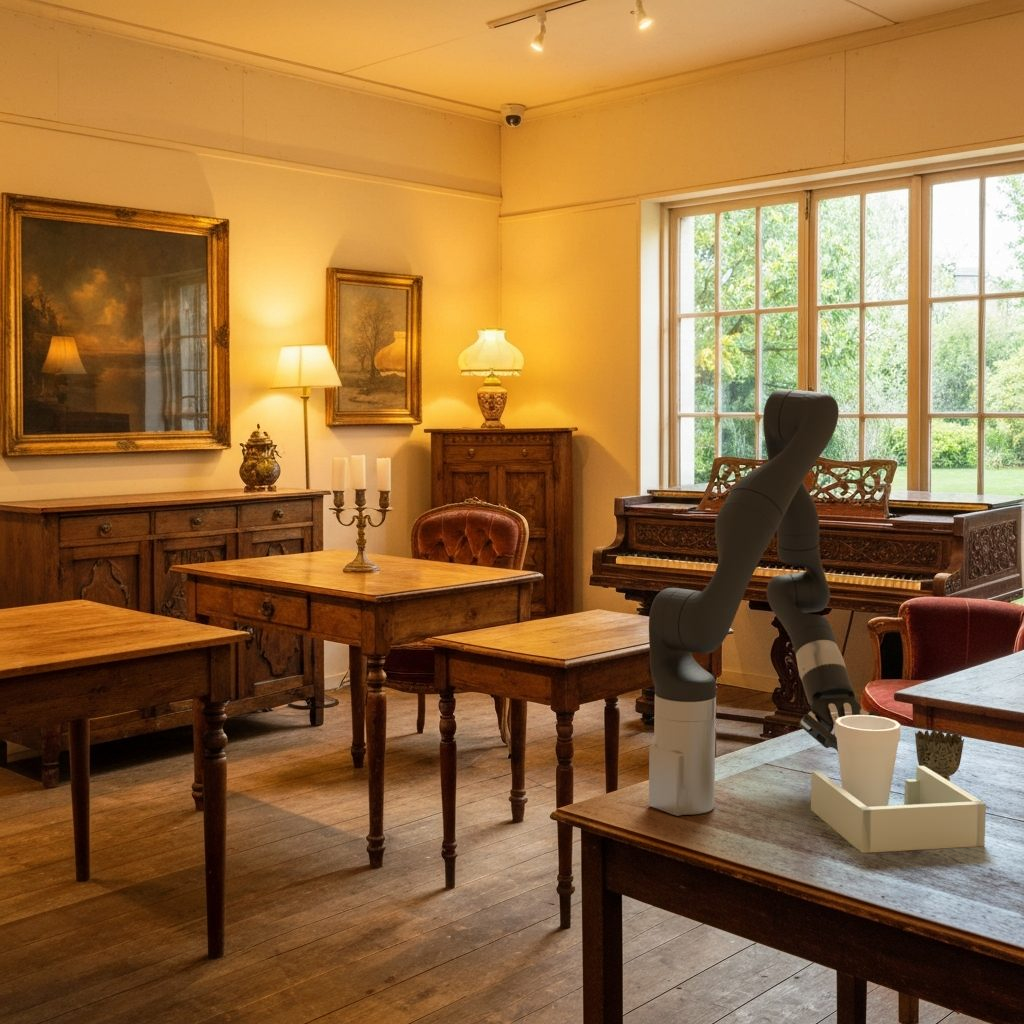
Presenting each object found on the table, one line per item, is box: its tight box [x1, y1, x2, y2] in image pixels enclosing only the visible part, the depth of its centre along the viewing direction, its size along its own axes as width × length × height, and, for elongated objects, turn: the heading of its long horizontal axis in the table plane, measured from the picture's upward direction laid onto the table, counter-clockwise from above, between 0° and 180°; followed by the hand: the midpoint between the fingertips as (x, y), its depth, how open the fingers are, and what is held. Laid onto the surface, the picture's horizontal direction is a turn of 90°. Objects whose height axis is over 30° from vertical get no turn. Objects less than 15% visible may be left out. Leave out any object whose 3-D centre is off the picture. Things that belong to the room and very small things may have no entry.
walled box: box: [810, 765, 987, 854], centre depth 178 cm, size 18×18×6 cm
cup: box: [914, 729, 965, 782], centre depth 198 cm, size 8×7×8 cm
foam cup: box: [835, 715, 901, 807], centre depth 186 cm, size 10×9×13 cm
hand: (853, 768), depth 192 cm, fingers closed
